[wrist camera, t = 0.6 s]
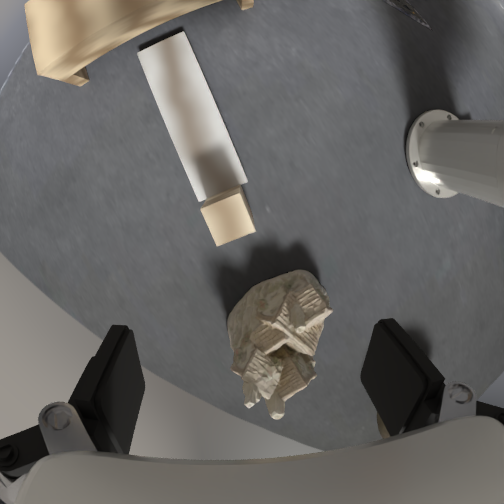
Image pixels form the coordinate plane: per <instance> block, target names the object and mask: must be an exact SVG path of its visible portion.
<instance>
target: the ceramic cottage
mask: <svg viewBox="0 0 504 504" xmlns="http://www.w3.org/2000/svg"><path fill="white" fill-rule="evenodd" d="M329 306H330V305H329V297H328V295H327V292H326V291H325V289H324V287H322V286H321V285H320V284H319V282H318V281H317V279H316V278H315V277H314V276H313V274H311V273H310V272H308V271H305V270H301V269H300V270H294V271H293V272H288V273H287V274H282V275H279V276H277V277H275V278H271V279H270V280H269V279H268V280H266V281H262V282H261V283H259V284H257V285H255V286H253V287H252V288H251V289H250V290H249V291H248V292H247V293H245V295H244V297H242V299H241V300H240V301H239V302H238V303H237V304H236V305H235V307H234V308H233V310H232V312H231V313H230V314H229V317H228V320H227V327H228V335H229V338H230V343H231V346H230V347H231V348H232V349H233V351H234V358H233V361H234V363H233V364H232V366H231V371H233V372H235V373H236V374H238V375H240V376H241V379H242V380H244V384H243V387H242V388H243V393H244V395H245V402H244V404H245V405H246V406H247V407H248V408H250V407H252V406H253V405H254V404H255V403H256V402H259V400H260V398H261V396H263V397H265V402H266V405H267V408H268V411H269V414H270V416H271V417H272V418H274V419H280V418H281V417H283V415H284V409H285V401H286V400H287V399H288V398H290V397H291V396H293V395H294V394H295V393H296V392H298V391H300V390H302V389H303V388H305V387H306V386H308V384H309V382H310V380H312V379H314V378H315V377H316V376H317V374H316V373H315V371H314V366H315V361H314V360H313V355H315V350H316V347H317V344H318V340H319V337H320V335H321V331H322V330H323V327H324V319H325V318H326V317H327V316H328V315H329V314H330V313H331V312H332V311H333V310H332V308H331V307H329Z"/></svg>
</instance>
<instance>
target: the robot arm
mask: <svg viewBox="0 0 504 504" xmlns="http://www.w3.org/2000/svg"><path fill="white" fill-rule="evenodd" d="M406 157H407V162H408V167H409V170H410V172H411V175H412V177H413V179H414V180H415V182H416V183H417V185H418V186H419V187H420V188H421V189H422V190H423V191H425V192H426V193H428V194H430V195H432V196H434V197H438V198H448V197H452V196H454V195H456V194H457V193H462V194H465V195H468V196H471V197H474V198H477V199H480V200H483V201H486V202H489V203H492V204H495V205H497V206H500V207H503V208H504V120H459V119H458V118H457V117H456V116H454V115H453V114H451V113H449V112H447V111H444V110H430V111H426V112H424V113H423V114H421V115H420V116H419V117H418V118H416V120H415V121H414V123H413V124H412V126H411V128H410V130H409V133H408V137H407V142H406ZM413 163H414V164H413ZM444 380H445V378H444V377H443V375H442V374H441V373H440V372H439V371H438V369H437V368H436V367H435V366H434V364H433V363H432V362H431V361H430V360H429V359H428V357H427V356H426V355H425V354H424V353H423V351H422V350H421V349H420V348H419V347H418V346H417V344H416V343H415V342H414V341H413V340H412V339H411V338H410V336H409V335H408V334H407V333H406V332H405V331H404V330H403V328H402V327H401V326H400V325H399V324H398V323H397V322H396V321H395V320H394V319H393V318H390V319H381V320H379V321H378V323H377V324H375V326H374V329H373V333H372V337H371V340H370V344H369V348H368V351H367V355H366V358H365V361H364V365H363V368H362V371H361V381H362V383H363V385H364V387H365V389H366V391H367V393H368V395H369V397H370V398H371V400H372V402H373V404H374V406H375V408H376V410H377V412H378V414H379V415H380V417H381V419H382V421H383V423H384V425H385V427H386V429H387V431H388V433H389V435H390V437H389V438H385V439H381V440H377V441H373V442H369V443H365V444H360V445H356V446H351V447H346V448H341V449H336V450H330V451H324V452H318V453H311V454H304V455H296V456H287V457H277V458H265V459H248V460H187V459H169V458H157V457H145V456H137V455H129V451H130V446H131V442H132V438H133V434H134V430H135V425H136V421H137V418H138V414H139V410H140V406H141V402H142V398H143V394H144V391H145V381H144V377H143V373H142V369H141V365H140V361H139V356H138V352H137V347H136V343H135V338H134V333H133V331H132V330H129V328H128V326H126V325H112V326H111V328H110V330H109V331H108V333H107V335H106V337H105V339H104V340H103V342H102V344H101V346H100V348H99V350H98V351H97V353H96V355H95V356H94V357H92V358H91V359H90V361H89V363H88V364H87V366H86V368H85V370H84V372H83V374H82V376H81V378H80V379H79V381H78V383H77V385H76V387H75V389H74V391H73V393H72V395H71V397H70V399H69V401H68V403H65V402H54V403H51V404H48V405H46V406H45V407H44V408H43V409H42V410H41V412H40V413H39V417H38V423H39V424H38V425H36V426H34V427H31V428H29V429H26V430H24V431H21V432H19V433H16V434H14V435H11V436H8V437H6V438H3V439H1V440H0V504H504V408H500V407H497V406H493V405H489V404H486V403H483V402H479V401H476V393H475V391H474V389H473V388H472V387H471V386H470V385H468V384H466V383H464V382H461V381H452V382H450V383H448V384H447V385H445V384H444V383H443V382H444Z"/></svg>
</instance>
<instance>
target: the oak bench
mask: <svg viewBox="0 0 504 504" xmlns="http://www.w3.org/2000/svg"><path fill="white" fill-rule="evenodd" d="M219 1H222V0H29V1H28V2H27V3H26V4H25V13H26V19H27V26H28V32H29V37H30V43H31V48H32V53H33V57H34V62H35V66H36V70H37V74H38V75H42V76H45V77H49V78H53V79H56V80H60V81H64V82H67V83H70V84H74V85H77V86H82V85H83V84H85V83H86V82H88V81H89V78H88V75H87V72H86V69H85V66H86V65H88V64H89V63H91V62H92V61H94V60H95V59H97V58H99V57H100V56H102V55H104V54H105V53H107V52H109V51H110V50H112V49H114V48H115V47H117V46H119V45H121V44H122V43H124V42H126V41H128V40H130V39H132V38H134V37H136V36H137V35H139V34H141V33H143V32H145V31H147V30H149V29H152V28H154V27H156V26H158V25H160V24H162V23H165V22H167V21H169V20H171V19H174V18H176V17H178V16H181V15H183V14H186V13H188V12H191V11H193V10H196V9H199V8H202V7H204V6H207V5H210V4H213V3H216V2H219ZM237 2H238V4H239V6H240V8H241V10H244V9H248V8H251V7H253V3H254V0H237Z"/></svg>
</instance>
